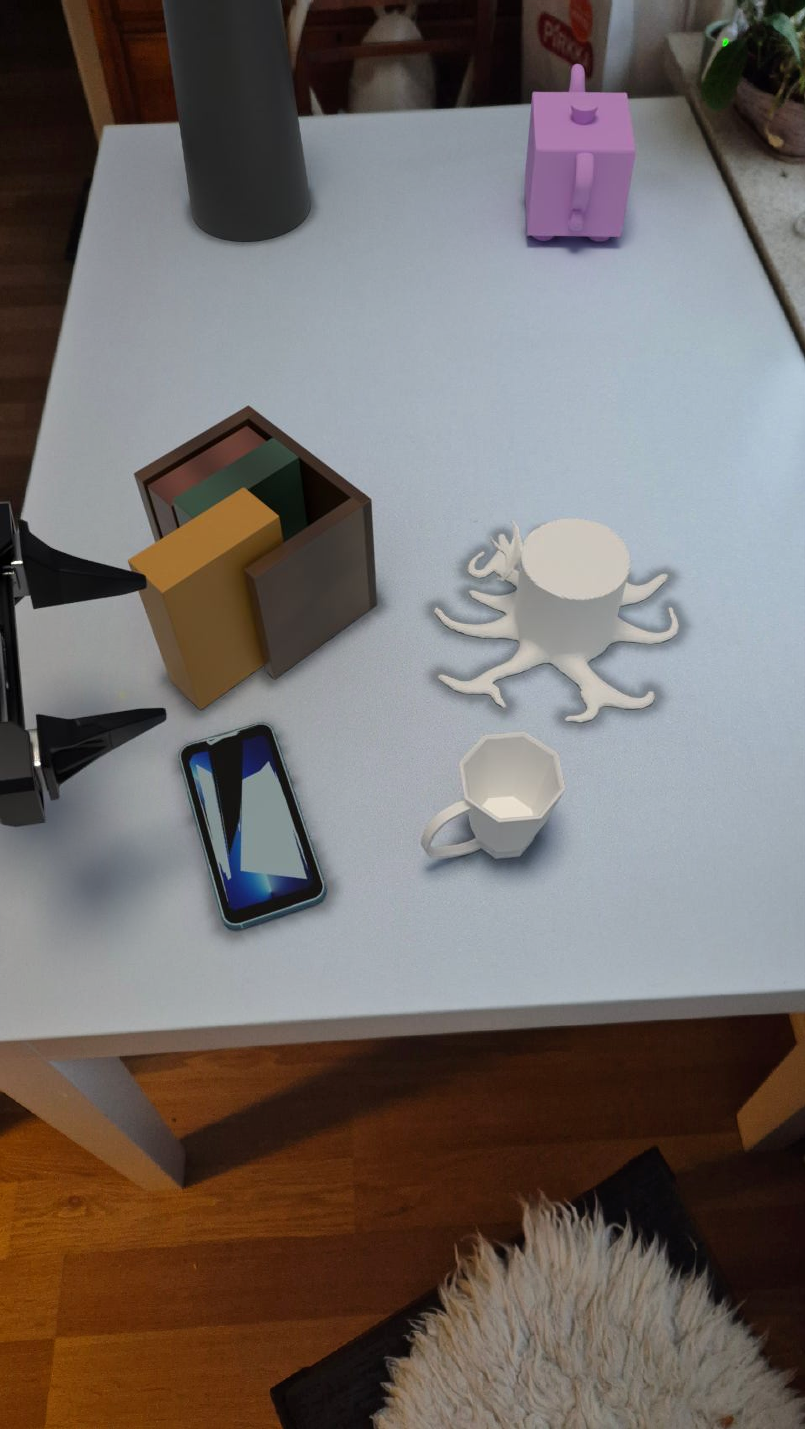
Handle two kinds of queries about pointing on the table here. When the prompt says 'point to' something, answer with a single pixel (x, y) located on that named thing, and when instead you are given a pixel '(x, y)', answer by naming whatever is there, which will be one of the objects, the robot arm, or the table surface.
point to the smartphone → (250, 826)
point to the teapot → (578, 162)
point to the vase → (237, 117)
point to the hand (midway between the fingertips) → (156, 645)
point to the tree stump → (561, 608)
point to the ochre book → (208, 595)
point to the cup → (502, 796)
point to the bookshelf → (314, 522)
